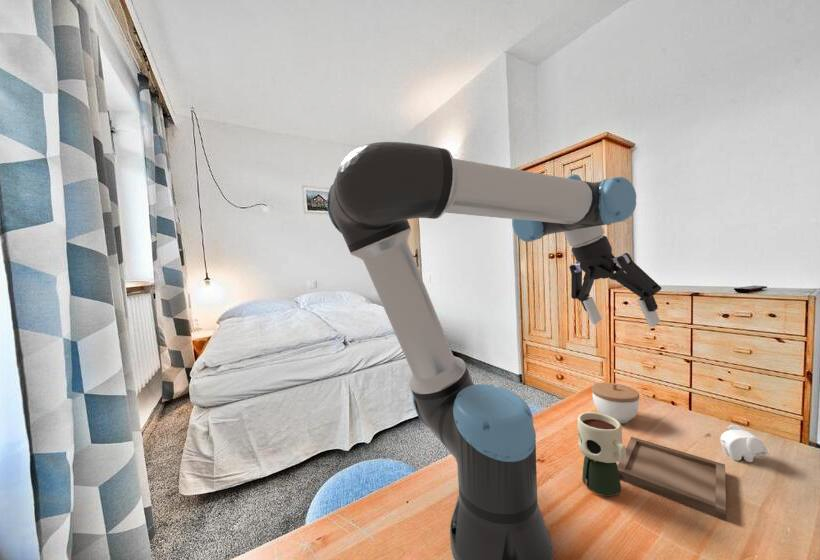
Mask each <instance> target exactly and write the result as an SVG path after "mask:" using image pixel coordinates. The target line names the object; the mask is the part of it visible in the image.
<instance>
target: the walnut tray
mask: <svg viewBox="0 0 820 560" xmlns="http://www.w3.org/2000/svg"><path fill="white" fill-rule="evenodd" d="M625 448H626V462H625V463H622V462H620V461H618V463H617V467H618V472H619V477H620V481H622V482H625V483H629V484H630V485H632V486H635V487H638V488H640V489H643V490H646V491H648V492H651V493H653V494H656V495H659V496H661V497H663V498H666V499H669V500H671V501H674V502H677V503H678V504H682V505H683V506H687V507H688V508H691V509H695V510H697V511H700V512H702V513H705V514H706V515H710V516H712V517H715V518H718V519H720V520H723V521H725V522H727V501H726V500H727V499H726V497H727V495H726V464H725V463H721V462H717V461H715V460H712V459H709V458H705V457H701V456H697V455H695V454H690V453H687V452H684V451H681V450H677V449H674V448H670V447H667V446H664V445H661V444H658V443H654V442H651V441H648V440H647V441H646V440H644V439H640V438H637V437H633V436H630V439H629V441H628V443H627V445H626V446H625Z"/></svg>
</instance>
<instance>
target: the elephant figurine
mask: <svg viewBox="0 0 820 560" xmlns="http://www.w3.org/2000/svg"><path fill="white" fill-rule="evenodd" d="M716 439H717V440H719V441H720V444H721V448H722V449H723V451H724V452H725V454H726V455H727V456H729V457H730V459H732V460H734V461H741V460H742V458H743V460H744V461H745V462H748V463H753V461H754V458H755V456H758V457H763V456H766V454H767V455H769V452H768V449H767V448H766V446H765V444H764V442H763V441H762V440H761V439H760V438H759V437H757V436H755V435H754V434H753V433H751V432H749V431H747V430H745V429H744V428H743V427H742V426H740V425H737V424H730V425H728V426H727V428H726V431H724V432H723V433H722V434H721V435H720V438H718V437H717V438H716Z"/></svg>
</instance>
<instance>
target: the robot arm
mask: <svg viewBox="0 0 820 560" xmlns="http://www.w3.org/2000/svg"><path fill="white" fill-rule="evenodd" d="M326 201H327V202H326V203H327V204H326V207H327V213H328V216H329V219H330V221H331V224H332V225H333V226H334V228H335V229H336V230H337V231H338V232H339V233H340V234H341V235H342V237H343V239H344V243H345V244H346V246H347V248H348V251H349V252H350V255H351V256H354V257H356V258H358V259H360V260H362V261H363V263H364V265H365V268H366V270H367V272H368V275H369V277H370V279H371V282H372V284H373V286H374V288H375V291H376V293H377V295H378V297H379V299H380V302H381V304H382V307H383V309H384V311H385V314H386V316H387V318H388V320H389V324H390V325H391V328H392V329H393V332H394V334H395V336H396V339H397V342H398V343H399V345H400V347H401V351H402V352H403V355H404V357H405V359H406V362H407V363H408V366H409V368H410V371H411V373H412V374H411V376H410V378H409V381H408V386H409V388H410V391H411V393H412V404H413V406H414V410H415V411H416V414H417V416H418V418H419V420H420V421H421V422H422V424H424V426H426V427H427V428H428V429H429V430H430V431H431V433H433V434H434V436H435V437H436V438H437V439H438V440H439V441H440V443H442V444H443V446H444V447H445V448H446V449H447V450H448V452H449V453H450V454H451V455H452V456H453V457H454V458H455V461H456V465H457V480H458V482H457V483H458V495H457V499H456V503H455V506H454V509H453V513H452V517H451V520H450V526H449V535H450V539H449V540H450V549H451V554H452V556H453V557H452V558H453V559H455V560H554V553H553V542H552V539H551V535H550V533H549V531H548V528H547V526H546V522H545V519H544V517H543V514H542V512H541V509H540V506H539V504H538V481H537V476H538V475H537V474H538V473H537V444H536V443H537V437H536V436H537V434H536V429H535V425H534V417H533V413H532V411H531V409H530V406H529V405H528V404H527V402H526V401H525V399H523V398H522V397H521V396H520V395H518V394H517V393H515V392H514V391H512V390H510V389H507V388H506V387H505V388H504V387H502V386H499V387H496V386H495V385H492V384H486V383H484V384H474V381H473V379H472V376H471V375H470V374H471V373H470V372H469V370H468V367H467V365H466V362H465V361H464V359H462V358H460V357H457V356H455V355H454V354H453V352H452V348H451V346H450V344H449V341H448V339H447V336H446V334H445V332H444V329H443V327H442V324H441V322H440V319H439V317H438V315H437V312H436V310H435V307H434V305H433V302H432V300H431V298H430V294H429V292H428V290H427V287H426V285H425V282H424V280H423V278H422V275H421V272H420V269H419V268H418V265H417V263H416V261H415V257H414V255H413V253H412V250H411V248H410V246H409V243H408V239H409V237H410V234H411V231H412V229H411V225H410V223H409V220H410V219H433V220H434V219H435V220H437V219H439V218H441V217H442V216H443V215H444V214H455V215H465V216H466V215H467V216H475V217H476V216H477V217H489V218H499V219H511V227H512V228H513V232H514V234H515V235H516V236H517V238H518V239H520V240H522V241H523V242H526V243H527V242H529V243H531V242H535V241H536V240H540V239H542V238H543V237H545V236H547V235H551V234H556V233H558V234H559V233H564V236H565V239H566V241H567V243H568V246H570V247H572V248H571V251H572V254H573V257H574V259H575V261H576V262H574V263H573V264H571V265H569V271H570V274H571V280H570V281H571V284H570V287H571V291H570V293H571V294H570V296H571V298H572V299H573V300H575V299H576V300H578V301H579V302H581V305H582V306H583V310H584V311H585V312H586V313H587V314H588V317H589V319H590V321H591V323H592V325H596V324H598V323H599V322H601V321H602V320H603V318H602V316H601V313H600V311H599V309H598V307H597V304H596V303H595V300H594V298H593V296H591V294H590V293H591V289H592V287H593V286H594V283H595V280H596V281H597V280H600V279H610V280H612V281H616V282H617V283H619V284H620V285H622V286H623V287H624V288H626V289H627V290H629V291H631V292H632V293H633V294H635V295H637V296H638V299H637V301H638V304H639V306H640V309H641V311H642V313H643V316H644V318H645V321H646V322H647V326H648V328H654V327H655V326H657V325H658V324H660V323H661V319H660V318H659V314H658V312H657V309H658V307H659V306H658V304H657V302H656V299H655V297H654V296H655V295H656V294H657V293H658V292H661V290H662V287H661V285H659V284H658V283H657V282H656V281H655V280H654V279H653V278H652V277H650V275H649V274H647V273H646V272H645V271H644V270H643V269H642V268H641V267H640V266H639V265H637V263H635V261H634V260H633V259H632V257H631V255H630V254H629V253H628V252H624V253H623V254H621V255H619V256H614V255H613V251H612V249H613V247H612V246H611V244H610V241H609V239H608V237H607V236H606V235H604V234H605V230H604V228H603V226H610V225H612V224H616V223H621V222H624V221H627V220H628V219H629V218H630V217H631V216H632V215H633V213H634V212H635V210H636V206H637V191H636V189H635V187H634V185H633V184H632V181H630V180H629V179H628V178H626V177H623V176H615V177H611V178H604V179H602V180H600V181H598V182H597V181H595V182H592V181H584V180H582V179H581V177H580V175H578V174H572V175H569V176H567V177H563V176H562V177H561V176H560V177H559V176H555V175H550V174H545V173H540V172H539V173H538V172H533V171H527V170H520V169H516V168H510V167H504V166H498V165H493V164H488V163H487V164H486V163H480V162H476V161H471V160H465V159H458V158H454V157H453V155H452V153H451V151H450V150H448V149H447V148H444V147H443V148H442V147H437V146H431V145H427V144H420V143H413V142H401V141H400V142H399V141H378V142H373V143H368V144H363V145H362V146H360V147H357V148H355V149H353V150H352V151H351V152H349V153H348V154H347V156H345V157H344V159H342V162H341V163H340V165H339V167H338V168H337V172H336V176H335V178H334V180H333V182H332V184H331V185H330V187H329V189H328V193H327V200H326ZM583 272H584V276H583ZM658 310H659V309H658Z"/></svg>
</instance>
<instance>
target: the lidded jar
mask: <svg viewBox="0 0 820 560" xmlns="http://www.w3.org/2000/svg"><path fill="white" fill-rule="evenodd" d="M591 393H592V402H593V404H594V407H595V409H596V410H597V413H601V414H605V415H609V416H611V417H613V418H615V419H616V420H618V421H619V422H620V424H627V423H629V422H630V421H631V420H633V419H634V418H635V417H636V416H637V413H638V412H639V406H640V392H638V390H636V389H635V388H633V387H630V386H627V385H624V384H620V383H616V382H615V383H614V382H598V383H594V384H592V385H591Z"/></svg>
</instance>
